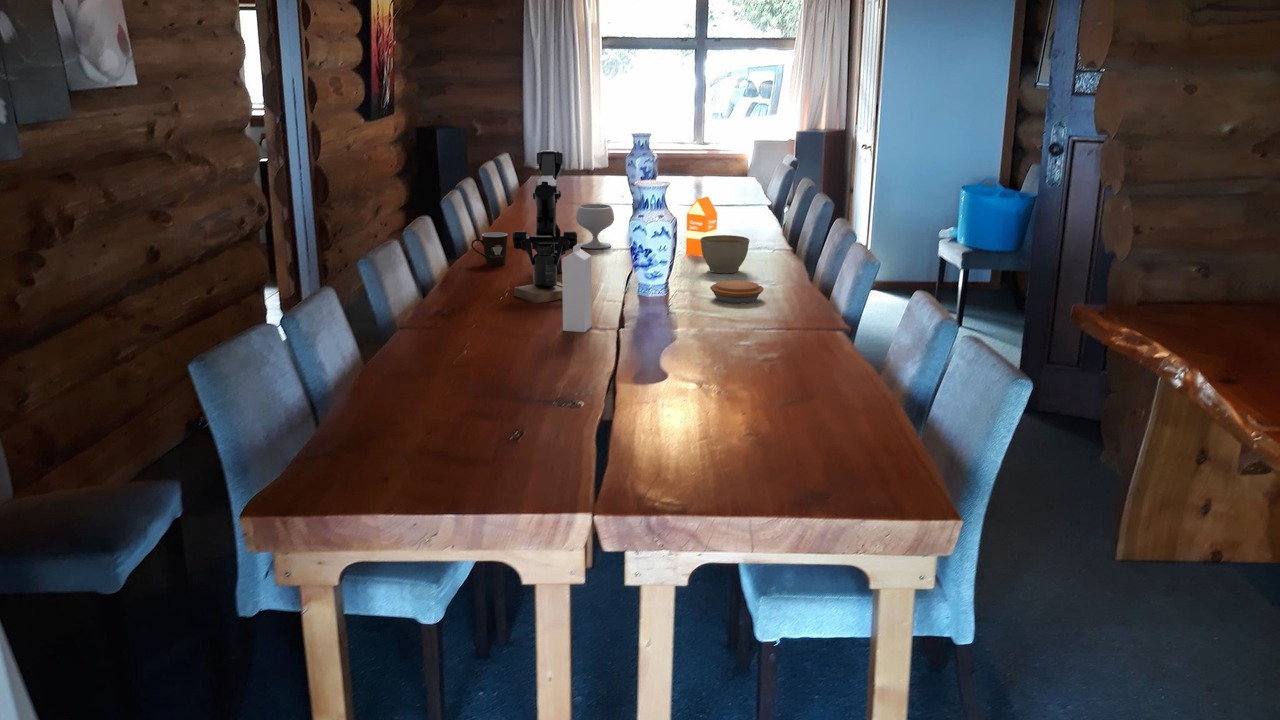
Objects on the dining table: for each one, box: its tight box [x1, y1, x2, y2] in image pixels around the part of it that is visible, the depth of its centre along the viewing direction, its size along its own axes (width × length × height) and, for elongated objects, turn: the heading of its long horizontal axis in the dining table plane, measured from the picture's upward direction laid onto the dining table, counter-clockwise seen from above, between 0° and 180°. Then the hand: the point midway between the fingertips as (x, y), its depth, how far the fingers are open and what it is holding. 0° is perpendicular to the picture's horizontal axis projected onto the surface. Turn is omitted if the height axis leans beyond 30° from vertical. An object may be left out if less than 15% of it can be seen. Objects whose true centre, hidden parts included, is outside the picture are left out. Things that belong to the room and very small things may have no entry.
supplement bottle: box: [532, 244, 558, 288], centre depth 298 cm, size 7×7×12 cm
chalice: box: [575, 203, 615, 250], centre depth 377 cm, size 14×14×15 cm
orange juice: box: [685, 196, 718, 257], centre depth 365 cm, size 8×9×20 cm
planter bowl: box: [700, 234, 750, 275], centre depth 337 cm, size 16×16×11 cm
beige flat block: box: [513, 281, 563, 304], centre depth 300 cm, size 14×12×3 cm
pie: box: [709, 279, 765, 305], centre depth 299 cm, size 15×16×5 cm
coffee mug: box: [470, 232, 509, 267], centre depth 344 cm, size 12×9×10 cm
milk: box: [561, 242, 592, 333], centre depth 262 cm, size 6×6×22 cm
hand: (544, 264), depth 296 cm, fingers closed on supplement bottle, 7 cm apart
